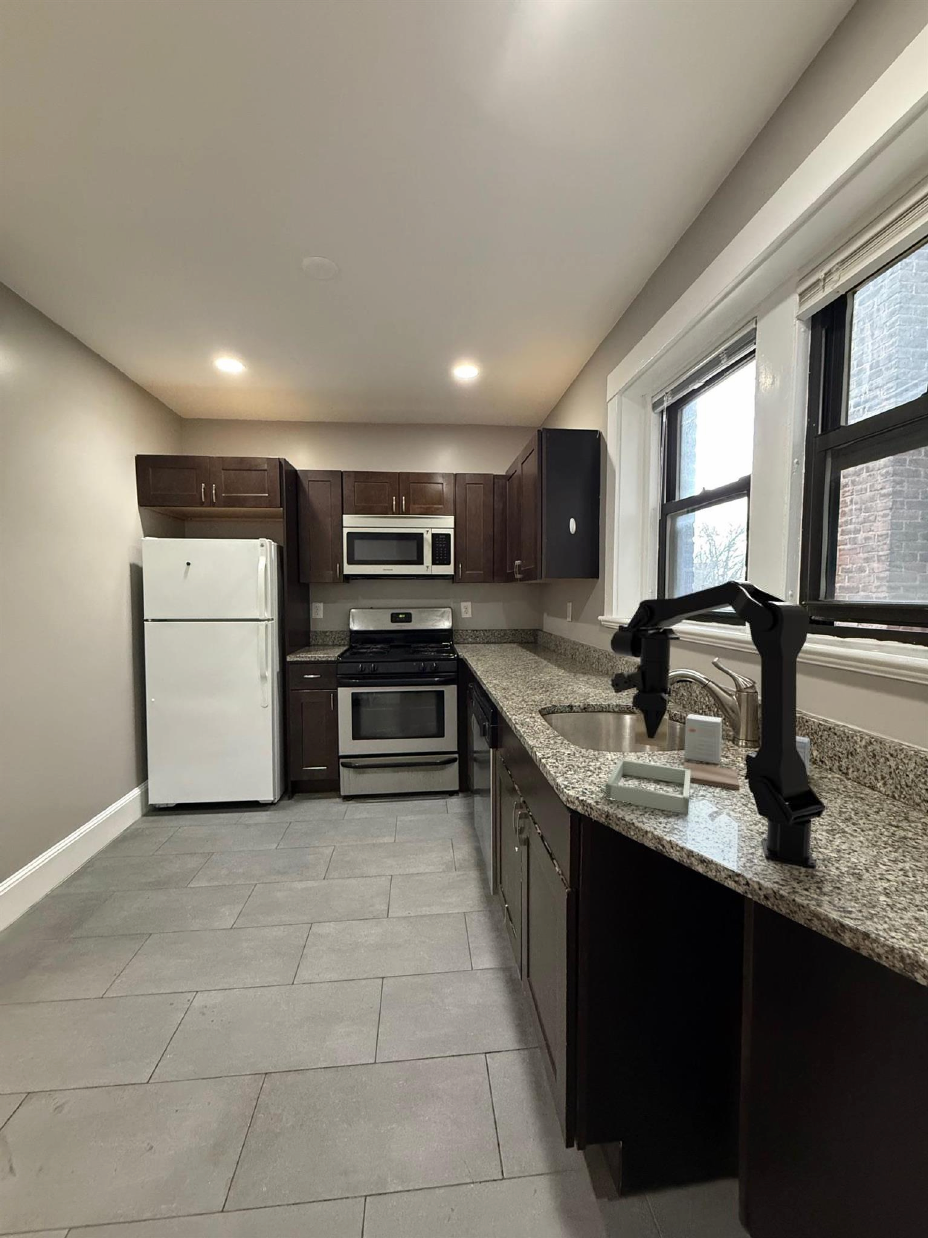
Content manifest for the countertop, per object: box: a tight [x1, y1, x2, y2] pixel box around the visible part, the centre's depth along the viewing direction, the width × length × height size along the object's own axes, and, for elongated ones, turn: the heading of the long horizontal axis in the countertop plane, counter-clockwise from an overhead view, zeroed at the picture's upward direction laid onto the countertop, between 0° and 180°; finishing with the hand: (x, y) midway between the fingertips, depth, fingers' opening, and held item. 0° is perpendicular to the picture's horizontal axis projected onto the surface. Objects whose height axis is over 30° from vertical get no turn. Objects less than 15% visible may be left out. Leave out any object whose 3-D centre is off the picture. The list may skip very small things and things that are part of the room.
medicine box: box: [796, 735, 811, 777], centre depth 118 cm, size 8×4×9 cm, turn 47°
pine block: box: [634, 710, 670, 749], centre depth 104 cm, size 4×6×6 cm
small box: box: [684, 713, 723, 765], centre depth 127 cm, size 8×6×10 cm
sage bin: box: [605, 758, 691, 815], centre depth 105 cm, size 18×15×3 cm
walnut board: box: [683, 761, 740, 790], centre depth 114 cm, size 11×11×1 cm
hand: (651, 735), depth 104 cm, fingers closed on pine block, 4 cm apart
